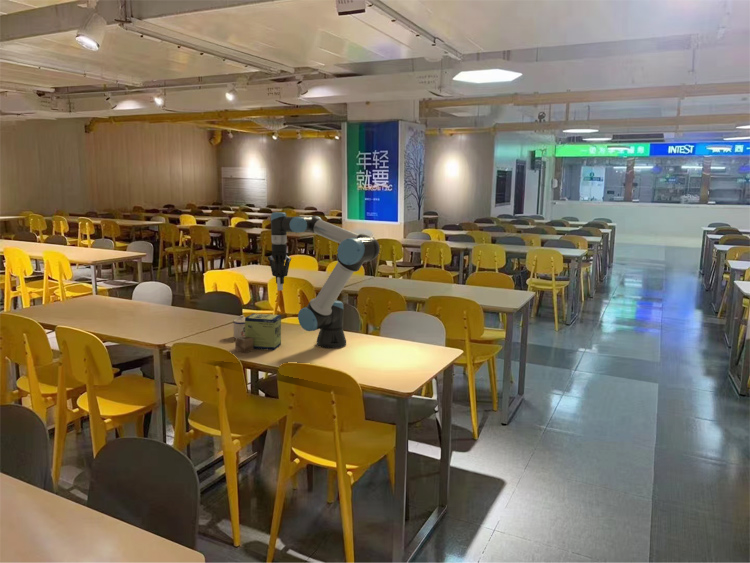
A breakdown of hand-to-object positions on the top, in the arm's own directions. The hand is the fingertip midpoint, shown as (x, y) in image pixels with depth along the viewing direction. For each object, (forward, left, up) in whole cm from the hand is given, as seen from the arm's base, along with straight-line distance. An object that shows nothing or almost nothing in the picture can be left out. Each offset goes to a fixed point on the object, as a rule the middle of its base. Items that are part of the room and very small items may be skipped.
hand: (280, 290), depth 287 cm
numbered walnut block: (+5, +21, -28) cm, 35 cm away
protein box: (+2, +10, -28) cm, 30 cm away
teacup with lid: (+23, +1, -28) cm, 36 cm away
